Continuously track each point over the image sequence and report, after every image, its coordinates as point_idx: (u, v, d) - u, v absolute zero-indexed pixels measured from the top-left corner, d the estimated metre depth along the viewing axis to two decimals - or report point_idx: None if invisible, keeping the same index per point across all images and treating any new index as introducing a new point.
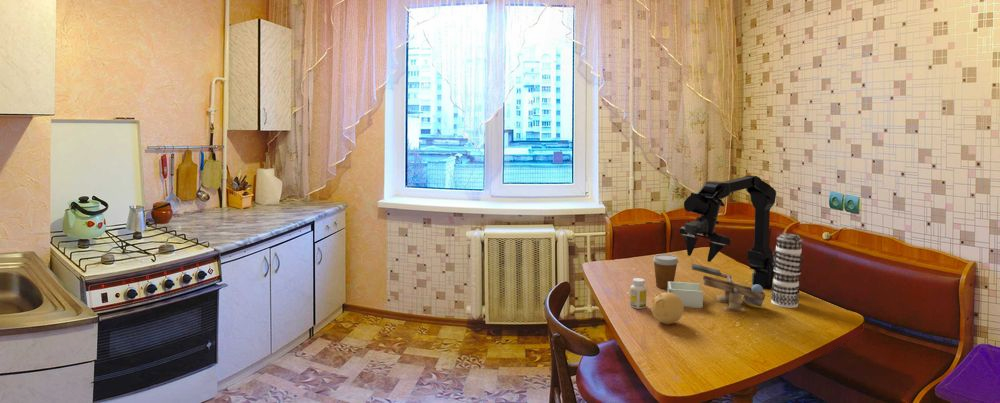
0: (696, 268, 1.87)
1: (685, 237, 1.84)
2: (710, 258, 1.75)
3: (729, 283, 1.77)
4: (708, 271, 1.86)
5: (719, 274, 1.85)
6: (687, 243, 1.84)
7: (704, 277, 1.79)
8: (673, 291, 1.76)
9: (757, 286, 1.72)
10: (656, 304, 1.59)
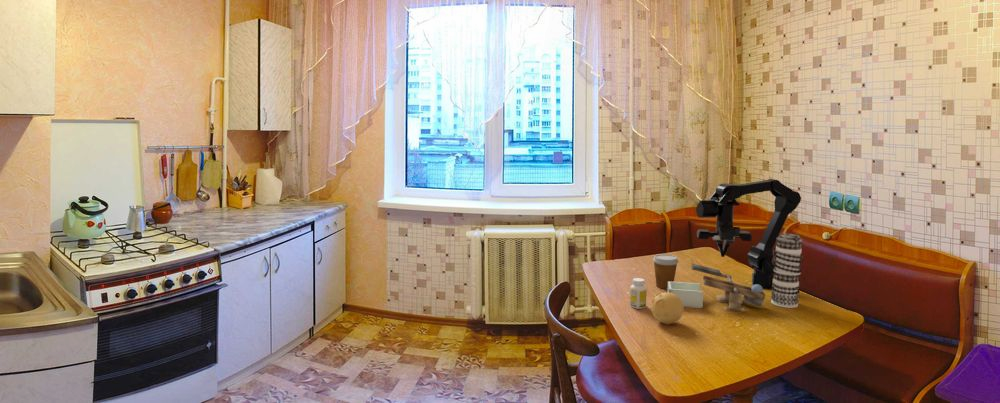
0: (696, 268, 1.87)
1: (720, 242, 1.90)
2: None
3: (729, 283, 1.77)
4: (708, 271, 1.86)
5: (719, 274, 1.85)
6: (721, 246, 1.92)
7: (704, 277, 1.79)
8: (673, 291, 1.76)
9: (757, 286, 1.72)
10: (656, 304, 1.59)
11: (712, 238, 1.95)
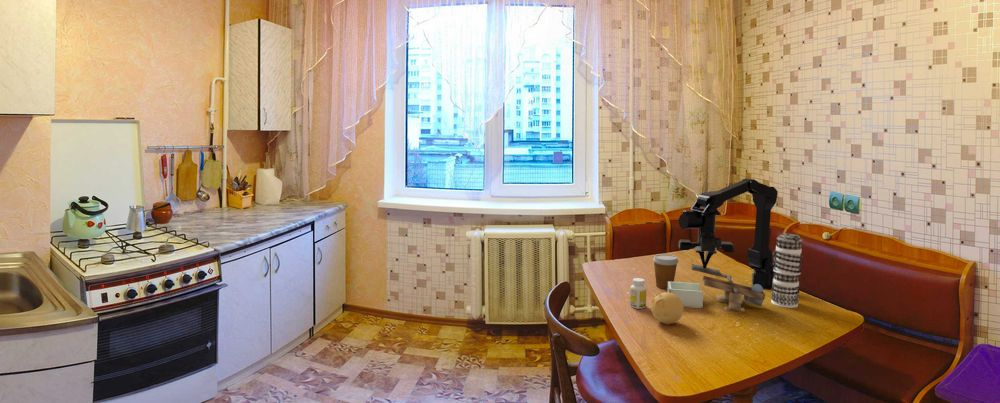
0: (696, 268, 1.87)
1: (702, 253, 1.85)
2: None
3: (729, 283, 1.77)
4: (708, 271, 1.86)
5: (719, 274, 1.85)
6: (702, 258, 1.86)
7: (704, 277, 1.79)
8: (673, 291, 1.76)
9: (757, 286, 1.72)
10: (656, 304, 1.59)
11: None
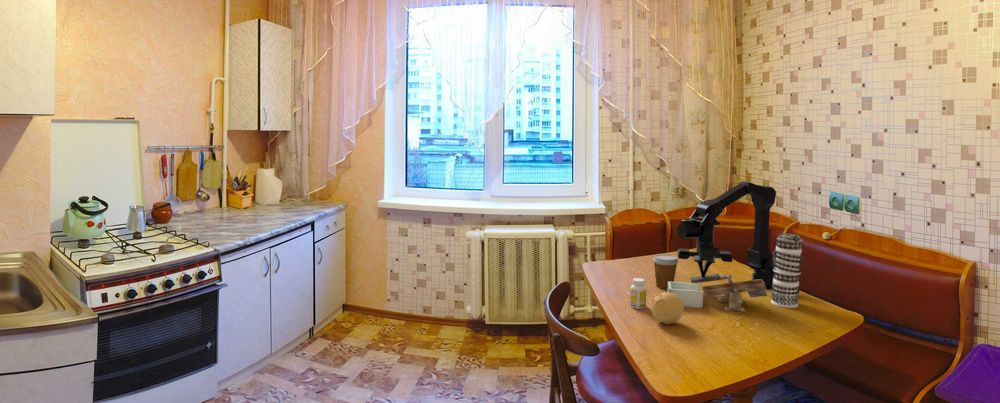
0: (695, 281, 1.88)
1: (700, 262, 1.86)
2: None
3: (729, 284, 1.77)
4: (707, 279, 1.86)
5: (718, 278, 1.85)
6: (701, 267, 1.87)
7: (703, 288, 1.80)
8: (673, 291, 1.76)
9: None
10: (656, 304, 1.59)
11: (693, 258, 1.91)
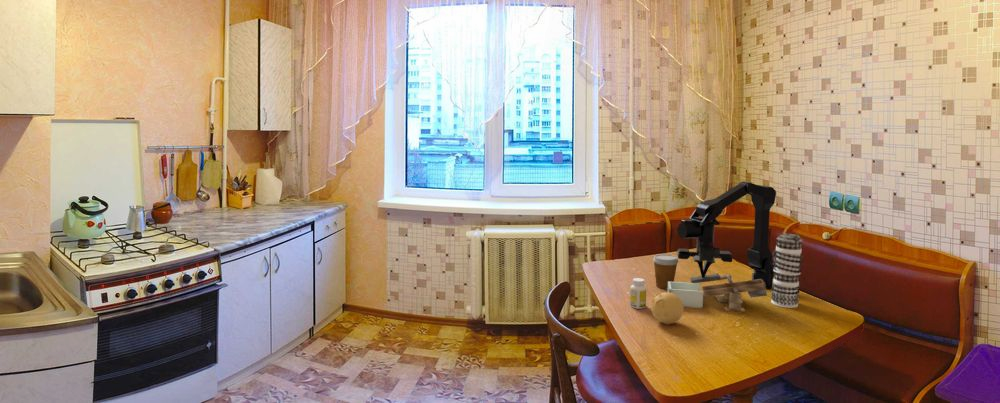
0: (695, 281, 1.88)
1: (700, 262, 1.86)
2: None
3: (729, 284, 1.77)
4: (707, 279, 1.86)
5: (718, 278, 1.85)
6: (701, 267, 1.87)
7: (703, 288, 1.80)
8: (673, 291, 1.76)
9: None
10: (656, 304, 1.59)
11: (693, 258, 1.91)
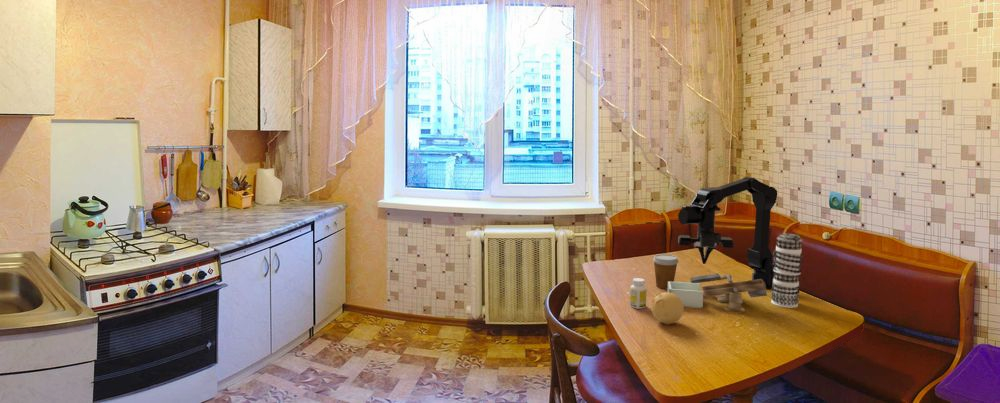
0: (695, 281, 1.88)
1: (701, 248, 1.85)
2: None
3: (729, 284, 1.77)
4: (707, 279, 1.86)
5: (718, 278, 1.85)
6: (702, 253, 1.86)
7: (703, 288, 1.80)
8: (673, 291, 1.76)
9: None
10: (656, 304, 1.59)
11: None
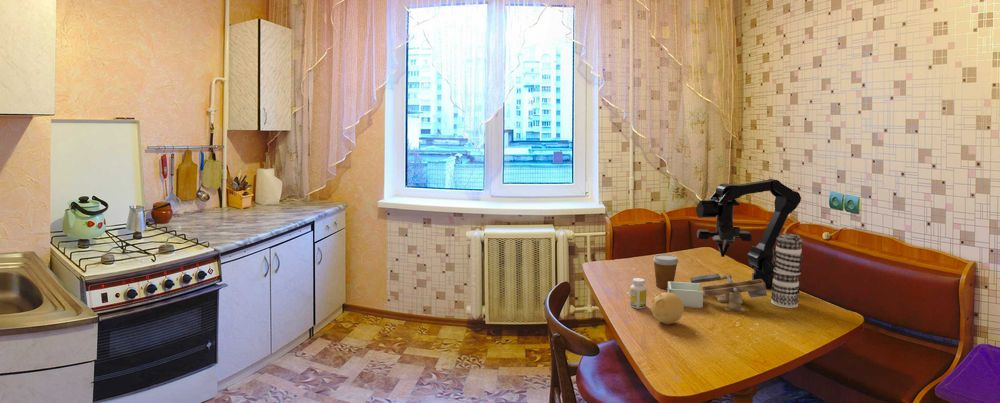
0: (695, 281, 1.88)
1: (720, 242, 1.90)
2: None
3: (729, 284, 1.77)
4: (707, 279, 1.86)
5: (718, 278, 1.85)
6: (721, 246, 1.92)
7: (703, 288, 1.80)
8: (673, 291, 1.76)
9: None
10: (656, 304, 1.59)
11: (712, 238, 1.95)
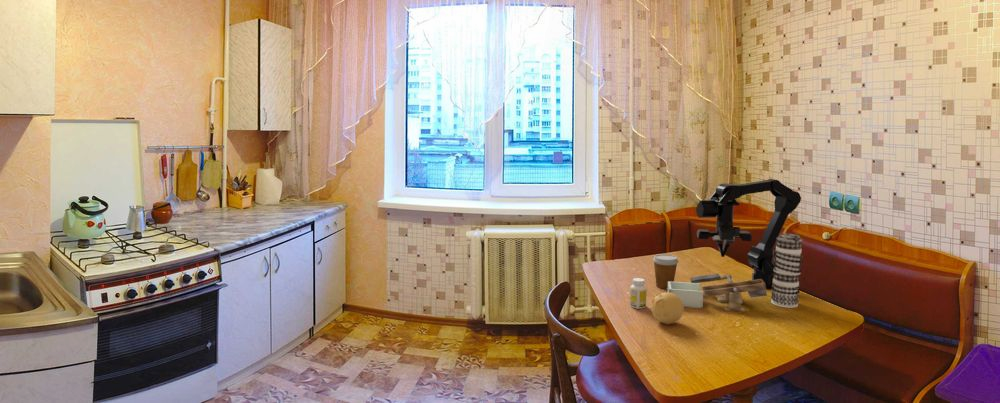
0: (695, 281, 1.88)
1: (720, 242, 1.90)
2: None
3: (729, 284, 1.77)
4: (707, 279, 1.86)
5: (718, 278, 1.85)
6: (721, 246, 1.92)
7: (703, 288, 1.80)
8: (673, 291, 1.76)
9: None
10: (656, 304, 1.59)
11: (712, 238, 1.95)
